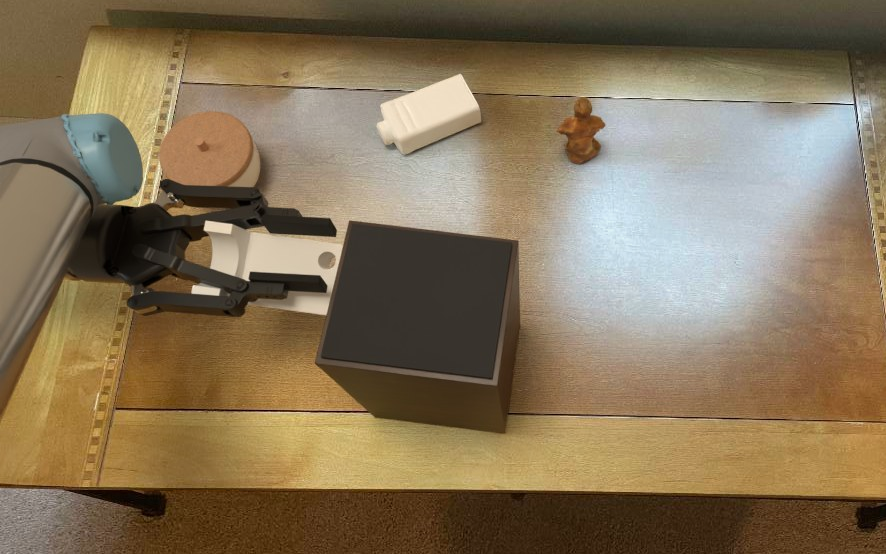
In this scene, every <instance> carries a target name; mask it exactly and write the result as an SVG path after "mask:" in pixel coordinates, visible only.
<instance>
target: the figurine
mask: <svg viewBox="0 0 886 554" xmlns="http://www.w3.org/2000/svg"><path fill="white" fill-rule="evenodd" d="M573 111H574V112H573V113H574V115H573V116H571V117H566V118H564V119H563V122H562V123H561V124H560V125H558V127H557V129H556V132H557V133H558V134H560V135H564V136H565V137H566V138H567V142H566V143H565V144H564V150H565V152H566V156H567V157H568V159H569V161H571V162H572V163H574V164H579V165H580V164H583V163H586V162H588V161H589V160H591V159H592V158H594V157H596V156H597V155H598V154H599V153H600V151H601V143H600V142H599V141H598V140H597V139H596V138H595V137H594V136H595V135H596V134H597V133H598V132H600V130H603V129H604V128H605V127H606V123H605V121H604V120H603V119H602V117H601V116H597V115H594V114H593V115H592V113H593V105H592V103H591V100H590V99H589V98H587V97H586V96H582V97H579V98H578V99H576V100H575V104H574V106H573Z"/></svg>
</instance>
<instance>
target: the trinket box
mask: <svg viewBox="0 0 886 554" xmlns="http://www.w3.org/2000/svg"><path fill="white" fill-rule="evenodd" d="M158 162H159V166H160V168H161V171H162V173H163V174H164V176H166V179H170V180H173V181H175V182H178V183H180V184H183V185H201V186H230V187H256V184H257V182H258V180H259V177H260V174H261V165H262V164H261V157H260V153H259V149H258V147H257V145H256V142H255V141H254V140H253V137H252V134H251V133H250V131H249V129H248V128H247V126H246V125H245V124H244V122H242V121H241V119H239V118H238V117H236V116H234V115H232V114H230V113H227V112H223V111H214V110H209V111H202V112H201V111H199V112H197V113H194V114H191V115H188V116H185V117H184V118H183V119H181V120H179V121H177V123H175V124H174V125H172V127H171V128H170V129H169V130H168V131H167V133H166V134H165V135H164V138H163V139H162V141H161V144H160V147H159V153H158Z"/></svg>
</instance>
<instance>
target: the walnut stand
mask: <svg viewBox="0 0 886 554" xmlns="http://www.w3.org/2000/svg"><path fill="white" fill-rule="evenodd" d="M352 224H360V225H369V226H377V227H385V228H394V229H402V230H411V231H419V232H427V233H436V234H444V235H452V236H461V237H469V238H478V239H486V240H494V241H503V242H511V243H512V249H511V256H510V263H509V270H508V276H507V283H506V290H505V297H504V303H503V310H502V317H501V324H500V331H499V337H498V344H497V351H496V358H495V364H494V371H493V378H492V379H485V378H477V377H469V376H461V375H453V374H445V373H437V372H428V371H420V370H412V369H404V368H396V367H388V366H380V365H372V364H364V363H356V362H348V361H340V360H332V359H324V358H321V352H322V348H323V344H324V340H325V336H326V331H327V327H328V323H329V319H330V315H331V311H332V306H333V302H334V298H335V294H336V290H337V285H338V281H339V277H340V273H341V269H342V264H343V260H344V256H345V252H346V248H347V243H348V239H349V235H350V231H351V227H352ZM342 245H343V248H342V252H341V256H340V261H339V265H338V269H337V273H336V277H335V281H334V286H333V290H332V294H331V298H330V302H329V306H328V310H327V315H326V316H325V319H324V324H323V328H322V332H321V336H320V340H319V344H318V348H317V352H316V357H315V360H314V365H315V366H317V367H318V368H319V369H320V370H321V371H323V372H324V373H325V374H326V375H327V376H328V377H329V378H330V379H331V380H332V381H334V382H335V383H336V384H337V385H338V386H339V387H340V388H341V389H342V390H343V391H345V392H346V393H347V394H348V395H349V396H350V397H352V398H353V399H354V400H355V401H356V402H357V403H358V404H359V405H360V406H362V408H364V409H365V411H367V412H368V413H369V414H370V415H372V416H373V418H376V419H383V420H392V421H399V422H405V423H406V422H407V423H415V424H422V425H423V424H424V425H431V426H439V427H447V428H455V429H463V430H471V431H477V432H478V431H479V432H486V433H495V434H503V435H505V434H506V433H507V425H508V418H509V410H510V404H511V402H510V401H511V395H512V388H513V382H514V381H513V380H514V374H515V367H516V359H517V352H518V345H519V344H518V343H519V336H520V330H521V329H520V328H521V300H520V299H521V298H520V297H521V295H520V294H521V292H520V248H519V247H520V246H519V245H520V244H519V240H517V239H509V238H502V237H492V236H484V235H477V234H469V233H468V234H467V233H460V232H459V233H458V232H451V231H443V230H435V229H426V228H417V227H411V226H410V227H409V226H400V225H392V224H383V223H376V222H375V223H374V222H369V221H368V222H367V221H359V220H358V221H357V220H351V219H349V220H348V223H347V227H346V232H345V236H344V240H343V244H342Z"/></svg>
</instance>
